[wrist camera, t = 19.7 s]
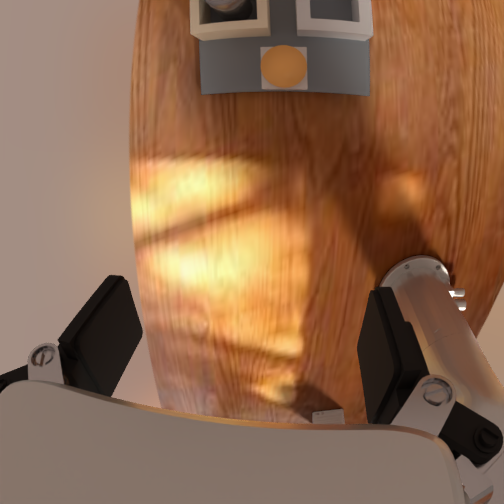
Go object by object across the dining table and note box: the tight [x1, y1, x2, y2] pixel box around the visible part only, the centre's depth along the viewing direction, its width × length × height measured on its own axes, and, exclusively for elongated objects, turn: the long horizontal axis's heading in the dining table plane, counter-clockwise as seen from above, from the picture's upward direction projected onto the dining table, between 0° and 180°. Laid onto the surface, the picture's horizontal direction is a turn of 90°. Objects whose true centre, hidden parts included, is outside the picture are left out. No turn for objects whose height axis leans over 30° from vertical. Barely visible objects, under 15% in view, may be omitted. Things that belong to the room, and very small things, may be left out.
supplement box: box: [312, 409, 345, 424], centre depth 59 cm, size 7×7×13 cm
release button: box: [261, 45, 307, 88], centre depth 28 cm, size 4×4×6 cm
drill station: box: [190, 0, 373, 96], centre depth 27 cm, size 20×16×6 cm
